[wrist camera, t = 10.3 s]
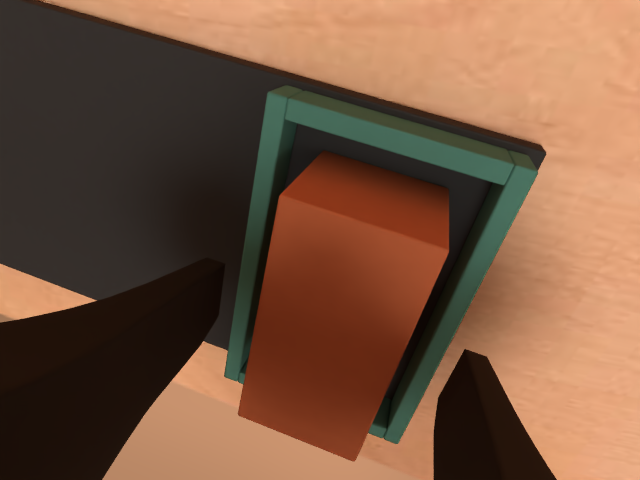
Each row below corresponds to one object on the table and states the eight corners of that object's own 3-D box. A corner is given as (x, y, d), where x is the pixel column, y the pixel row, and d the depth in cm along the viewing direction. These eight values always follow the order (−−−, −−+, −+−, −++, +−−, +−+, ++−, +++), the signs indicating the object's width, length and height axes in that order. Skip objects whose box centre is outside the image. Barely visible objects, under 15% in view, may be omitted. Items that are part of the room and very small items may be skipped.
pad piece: (449, 188, 13) (450, 250, 9) (374, 371, 17) (355, 463, 13) (323, 149, 13) (278, 194, 10) (279, 336, 17) (236, 415, 14)
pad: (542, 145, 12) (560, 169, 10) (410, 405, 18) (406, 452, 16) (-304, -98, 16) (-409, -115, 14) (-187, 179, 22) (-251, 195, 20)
